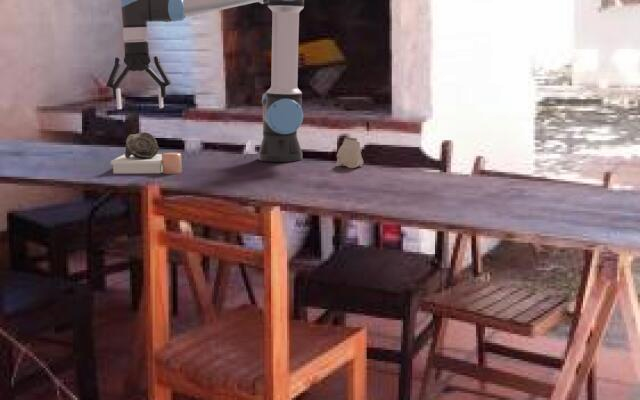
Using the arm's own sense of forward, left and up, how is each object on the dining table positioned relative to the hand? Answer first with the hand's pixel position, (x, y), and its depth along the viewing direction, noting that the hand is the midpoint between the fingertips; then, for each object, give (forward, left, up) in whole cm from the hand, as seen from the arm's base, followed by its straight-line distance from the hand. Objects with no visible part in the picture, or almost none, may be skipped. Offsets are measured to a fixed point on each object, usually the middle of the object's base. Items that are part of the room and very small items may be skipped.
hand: (140, 108), depth 296 cm
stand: (0, 0, -20) cm, 20 cm away
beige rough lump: (-67, -4, -20) cm, 70 cm away
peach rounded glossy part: (-11, +6, -20) cm, 23 cm away
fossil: (0, 0, -16) cm, 16 cm away
